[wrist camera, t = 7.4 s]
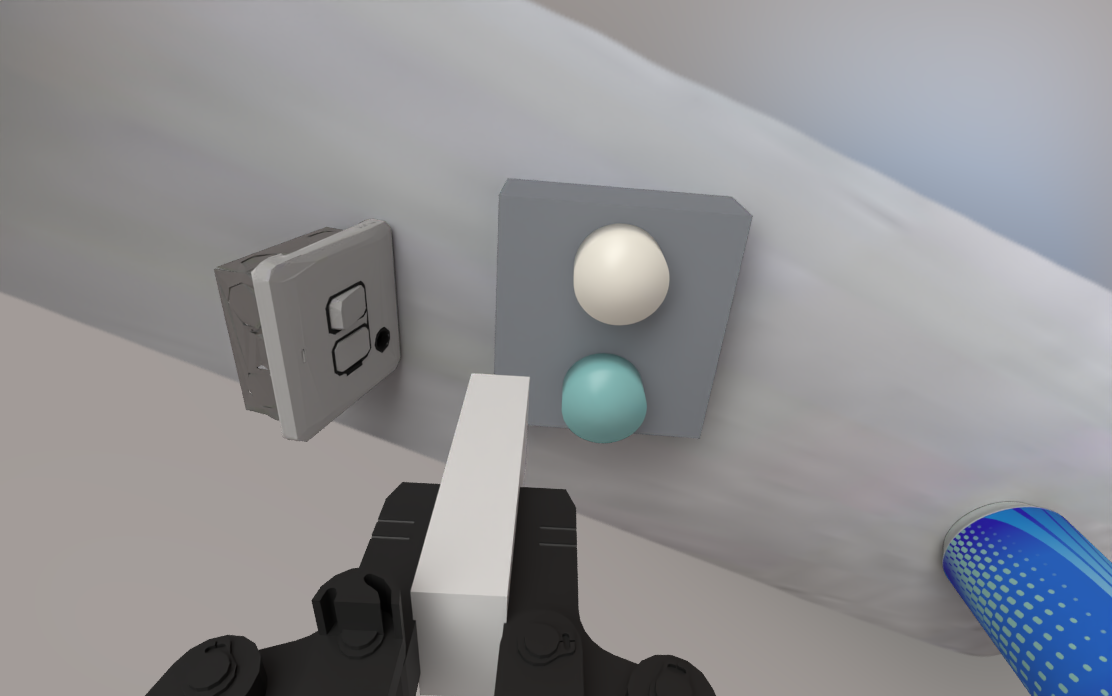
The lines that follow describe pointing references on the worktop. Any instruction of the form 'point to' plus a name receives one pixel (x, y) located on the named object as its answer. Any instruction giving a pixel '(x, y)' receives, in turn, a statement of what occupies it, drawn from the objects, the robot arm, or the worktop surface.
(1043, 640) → the beer can
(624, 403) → the knob teal
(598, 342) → the mount block
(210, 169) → the worktop surface
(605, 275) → the knob cream
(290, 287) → the electrical switch
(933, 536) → the worktop surface
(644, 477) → the worktop surface
